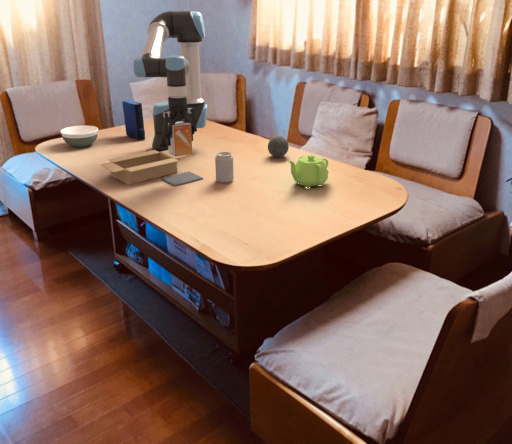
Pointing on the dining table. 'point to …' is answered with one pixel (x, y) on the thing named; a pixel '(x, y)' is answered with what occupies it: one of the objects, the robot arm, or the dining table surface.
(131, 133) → the book
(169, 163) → the carton
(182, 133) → the small box
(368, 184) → the dining table surface
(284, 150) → the decorative ball
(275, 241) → the dining table surface
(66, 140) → the bowl
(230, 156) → the can
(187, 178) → the mat
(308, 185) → the teapot
